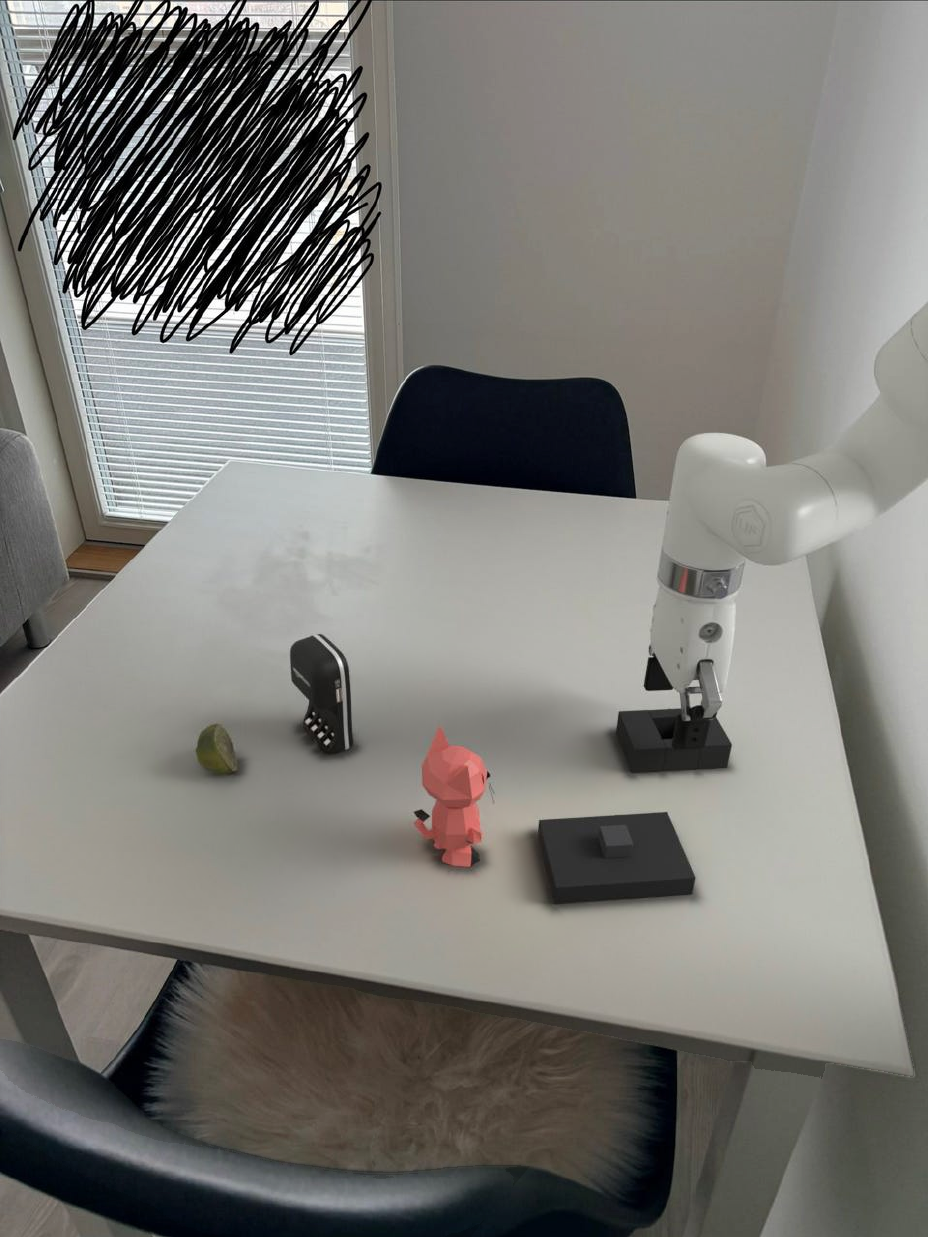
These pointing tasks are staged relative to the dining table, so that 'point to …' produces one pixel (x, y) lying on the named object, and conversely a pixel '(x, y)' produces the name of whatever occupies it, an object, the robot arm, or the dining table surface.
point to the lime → (216, 750)
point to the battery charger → (323, 691)
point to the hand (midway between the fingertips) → (672, 717)
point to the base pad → (614, 857)
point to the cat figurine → (453, 800)
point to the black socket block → (667, 743)
